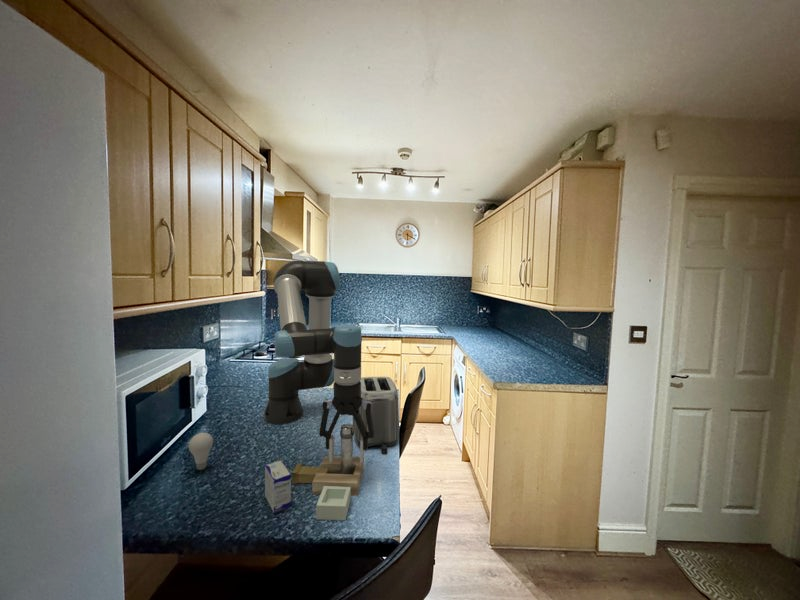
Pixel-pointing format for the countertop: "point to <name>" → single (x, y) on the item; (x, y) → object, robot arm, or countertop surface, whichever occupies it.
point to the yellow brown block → (306, 473)
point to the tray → (333, 503)
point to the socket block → (338, 476)
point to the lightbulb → (201, 449)
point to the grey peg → (347, 448)
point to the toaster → (380, 411)
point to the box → (278, 486)
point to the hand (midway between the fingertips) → (346, 459)
